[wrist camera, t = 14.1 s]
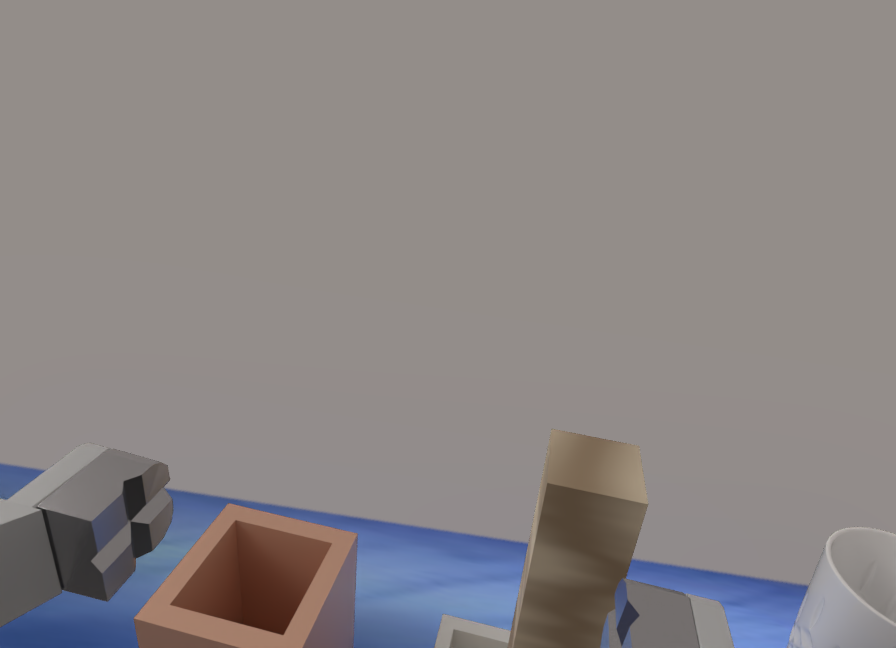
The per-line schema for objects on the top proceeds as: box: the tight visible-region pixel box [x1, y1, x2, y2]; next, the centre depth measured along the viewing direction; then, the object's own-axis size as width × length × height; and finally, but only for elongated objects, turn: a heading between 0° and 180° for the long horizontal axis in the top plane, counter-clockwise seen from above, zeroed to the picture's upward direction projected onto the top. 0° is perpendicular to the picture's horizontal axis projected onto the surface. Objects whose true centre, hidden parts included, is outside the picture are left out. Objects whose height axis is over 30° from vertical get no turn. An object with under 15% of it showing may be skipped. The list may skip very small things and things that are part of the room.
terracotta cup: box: [134, 503, 358, 648], centre depth 29 cm, size 7×7×9 cm
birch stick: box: [507, 429, 648, 648], centre depth 25 cm, size 3×3×18 cm
